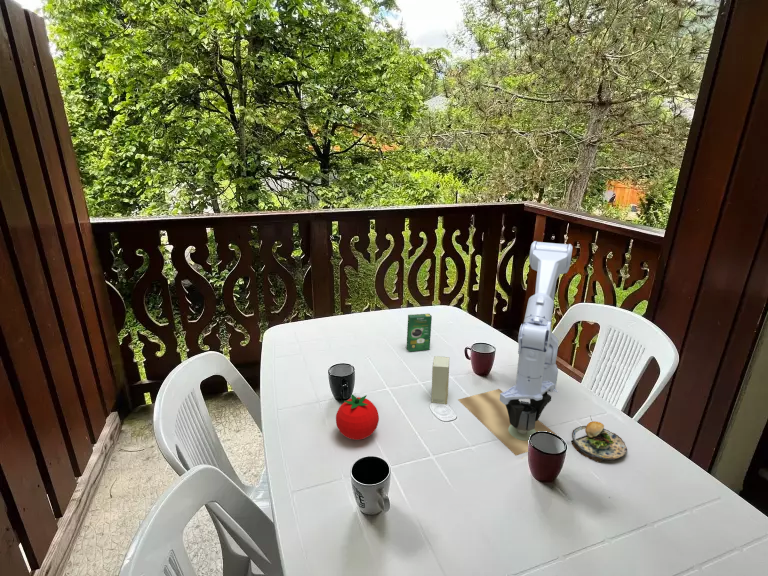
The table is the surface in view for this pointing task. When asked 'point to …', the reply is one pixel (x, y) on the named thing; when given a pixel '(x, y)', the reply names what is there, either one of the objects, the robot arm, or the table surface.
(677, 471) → the table surface
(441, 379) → the skincare box
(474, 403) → the board
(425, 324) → the coffee box
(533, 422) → the ring
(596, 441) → the burger
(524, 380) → the robot arm
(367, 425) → the tomato
